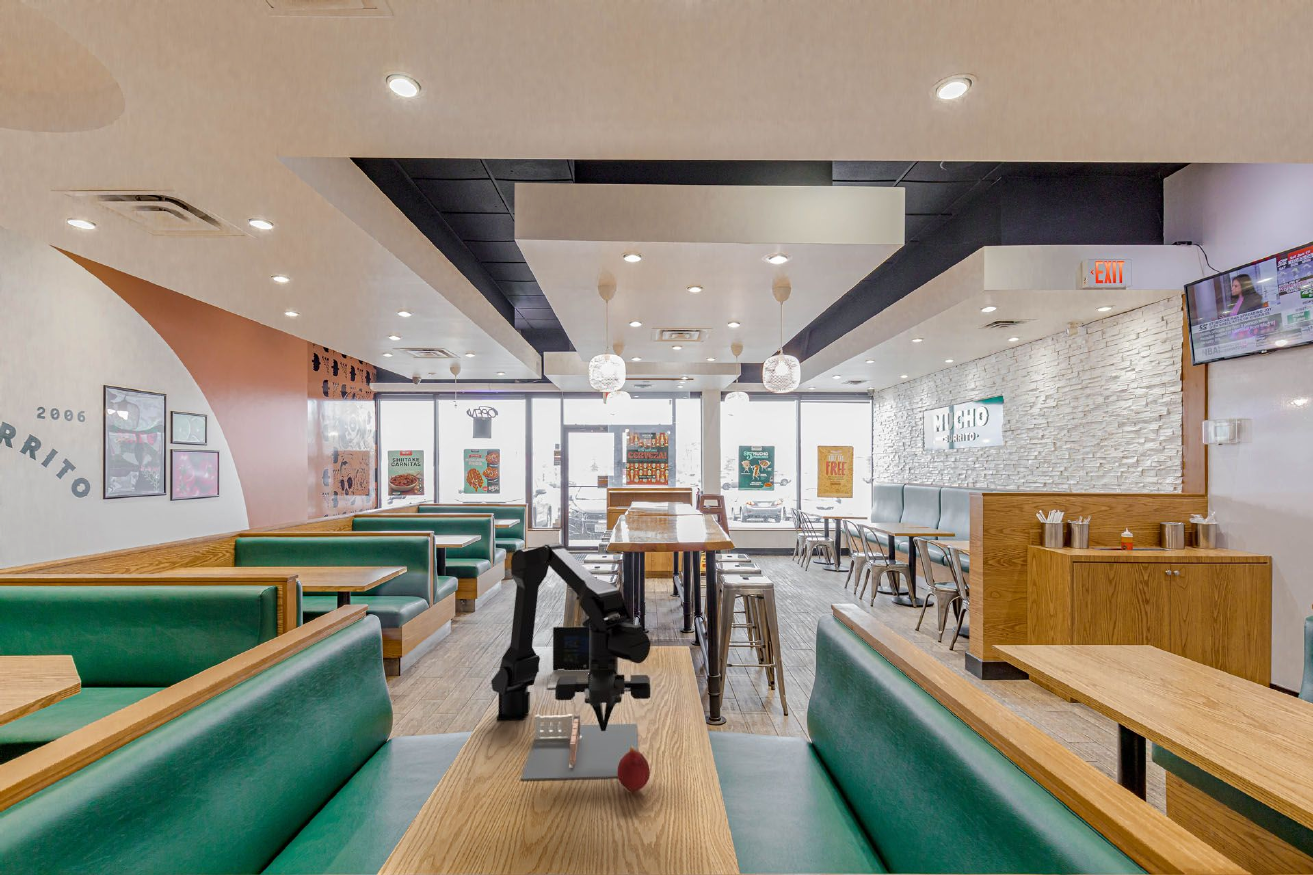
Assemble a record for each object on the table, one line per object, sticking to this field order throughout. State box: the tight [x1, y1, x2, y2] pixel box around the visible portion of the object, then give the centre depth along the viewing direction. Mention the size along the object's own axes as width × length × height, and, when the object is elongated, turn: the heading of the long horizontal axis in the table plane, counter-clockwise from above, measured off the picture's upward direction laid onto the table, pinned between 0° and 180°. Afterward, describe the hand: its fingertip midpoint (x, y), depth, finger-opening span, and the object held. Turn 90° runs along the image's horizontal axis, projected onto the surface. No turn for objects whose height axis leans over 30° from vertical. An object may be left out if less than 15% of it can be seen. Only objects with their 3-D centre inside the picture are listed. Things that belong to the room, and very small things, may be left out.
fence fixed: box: [534, 713, 573, 740], centre depth 127 cm, size 8×1×5 cm, turn 93°
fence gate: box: [570, 713, 581, 765], centre depth 121 cm, size 13×1×4 cm, turn 4°
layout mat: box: [520, 723, 639, 781], centre depth 122 cm, size 22×22×1 cm
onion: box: [617, 746, 651, 794], centre depth 107 cm, size 6×6×8 cm
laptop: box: [547, 625, 590, 690], centre depth 161 cm, size 18×12×13 cm
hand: (603, 730), depth 119 cm, fingers closed
